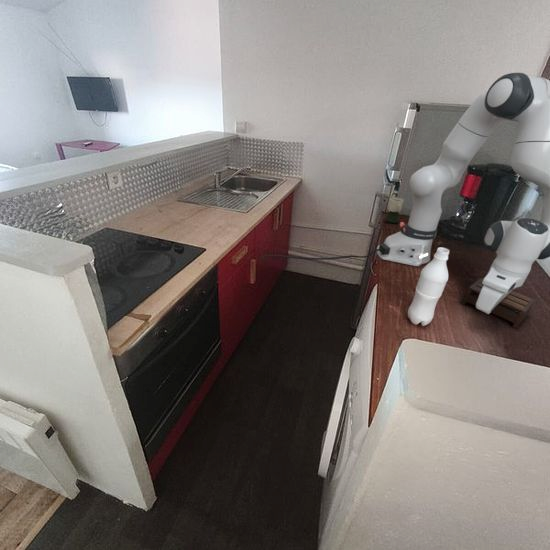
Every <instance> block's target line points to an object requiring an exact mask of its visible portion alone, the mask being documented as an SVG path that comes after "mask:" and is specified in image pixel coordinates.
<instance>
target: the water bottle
mask: <svg viewBox="0 0 550 550" xmlns="http://www.w3.org/2000/svg"><path fill="white" fill-rule="evenodd" d="M449 255H450V249H449V248H446V247H441V246H440V247H437V249H436V252H434V254H433V258H432V260H430V261H429V262H428V263H426V265H425V266H424V267H423V268H422V269H421V270H420V275H419V277H418V280H417V283H416V286H415V293H414V296H413V299H412V302H411V304H410V306H409V307H408V309H407V318H408V319H409V320H410V322H411V323H412V324H413V325H415V326H416V325H419V324H421V326H422V327H425V326H427V325H429V324H430V323H431V322H432V320H433V318H434V316H435V309H436V306H437V303H438V301H439V300H440V298H441V296H442V295H443V292H444V290H445V288H446V284H447V282H448V281H449V270H448V266H447V261H448V260H449Z"/></svg>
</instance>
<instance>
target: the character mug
mask: <svg viewBox="0 0 550 550" xmlns="http://www.w3.org/2000/svg"><path fill="white" fill-rule="evenodd" d="M404 201H405V200H404V198H402V197H394V196H393V197H390V198H389V202H388V205H387V210H388V213H387V216H386V219H385V221H386V222H388V223H391V224H393V223H395V224H396V223H398V221H399V213H400V212H401V211H402V209H403V205H404Z"/></svg>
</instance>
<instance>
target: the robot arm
mask: <svg viewBox="0 0 550 550" xmlns="http://www.w3.org/2000/svg"><path fill="white" fill-rule="evenodd" d="M507 120H508V121H511V122H517V123H518V126H519V129H518V134H517V137H516V140H515V143H514V145H513V149H512V152H511V155H510V156H511V157H510V166H511V169H512V170H513V171H514V173H515V174H517V176H519V177H521V178H522V179H524V180H526V181H528V182H530V183H532V184H534V185H535V186H537V187H538V188H540V189H541V190H542V193H543V203H542V207H541V215H540V220H537V219H534V218H530V217H523V218H522V217H520V218H518V219H516V220H513V221H512V220H497V221H495V222H493V223H492V224H491V225H490V226H488V228H487V230H486V231H485V233H484V236H483V244H484V245H485V247H486V248H487V249H488V250H489V251H491V253H495V254H496V257H495V258H494V260H493V261H492V263H491V266H490V267H489V269H488V270H487V274H485V276H484V278H483V282H482V284H484V286H483V287H482V289H481V292H480V294H479V297H478V300H477V302H476V306H475V309H476V310H479V311H481V312H483V313H485V314H487V315H489V314H492V313H491V312H492V311H493V309H494V307H495V306H496V305H497V304H499V303H500V302H501V301H502V300H503V299H504V298H505V297H506V296H507V295H508V294H509V293H510V292H511V291H514V290H515V289H517V288H520V287H522V286H523V285H524V284H525V282H526V280H527V278H528V276H529V274H530V272H531V270H532V266H533V264H534V263H535V261H536V260H541V261H543V260H545V259H548V258H550V80H549V79H548V78H546V77H543V76H541V75H540V76H539V75H531V74H526V73H524V72H510V73H506V74H504V75H502V76H500V77H498V78H497V79H496V80H495V81H494V82H493V83H492V84H491V85H490V87H488V89H487V91H484V92H482V93H481V94H480V95H479V96H478V97H477V98H476V99H475V100H474V101H473V102H472V103H471V104H470V105H469V106H468V108H467V109H466V110H465V112H464V113H463V114H462V115H461V117H460V118H459V120H458V121H457V122H456V124H455V125H454V127H453V128H452V130H451V131H450V133H449V134H448V136H447V137H446V139H445V140H444V141H443V144H442V149H441V152H440V155H439V157H438V159H437V160H436V161H435V163H433V164H430V165H425V166H422V167H421V168H419V169H418V170H417V171H415V172H414V173H413V174H412V175H411V176H410V179H409V182H408V183H409V184H408V185H409V189H410V191H411V193H412V204H411V205H412V206H411V209H410V210H411V212H410V214H409V217H408V222H407V223H405V222H404V221H400V222H399V227H400V231H397V232H395V233H392V234H391V235H388V236H387V237H386V238H385V240H384V241H383V243H379V245H377V247H376V249H374V250H372V251H370V252H369V254H367V255H354V254H353V255H351V254H349V255H342V256H341V255H340V256H335V257H334V256H333V257H306V256H304V257H303V256H295V255H285V254H284V255H283V254H264V255H261V256H260V257H259V259H258V260H259V261H261V260H263V259H264V258H287V259H297V260H298V259H300V260H310V261H311V260H312V261H314V260H315V261H319V260H320V261H327V260H328V261H329V260H339V259H346V258H347V259H348V258H359V259H361V258H362V259H363V258H369V257H371V256H372V255H373V254H374V253H376V254H377V256H378V257H379V258H380V259H381V260H384V261H388V262H392V263H393V262H394V263H398V264H404V265H407V266H408V265H409V266H413V267H420V266H421V265H423V264H429V263H430V262H431V253H432V252H431V251H432V245H433V242H434V240H435V238H436V236H437V233H438V225H439V222H440V219H441V217H442V213H443V208H442V205H441V204H442V196H443V194H444V193H445V192H448V191H450V190H452V189H454V188H455V187H456V186H457V185H458V184H459V183H460V182H461V180H462V178H463V174H464V173H465V172H466V170H467V168H468V166H469V165H470V163H471V161H472V159H474V157H475V155H476V154H477V153H478V151H479V150H480V149H481V148H482V146H483V145H484V144H485V142H487V140H488V139H489V137H490V136H491V135H492V134H493V133H494V131H495V130H496V129H497V127H498V126H500V125H501V123H503V122H505V121H507Z"/></svg>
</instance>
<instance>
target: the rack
mask: <svg viewBox="0 0 550 550" xmlns="http://www.w3.org/2000/svg"><path fill="white" fill-rule="evenodd" d="M483 279H484V278H482V277H481V278H479V279H478V280H476V281H475V282H474V283H473V284H471V285H470V286H469V287H468V288H467V290H466V294H465V295H464V298H463V300H462V301H461V304H463V305H466V304H467V303H469V304H471V305H474V306H475V307H476V302H477V300H478V297H479V294H480V292H481V289H482V287H483V286H484V284H482V282H483ZM536 301H537V299H534V298H532V297H529V296H526V295H524V294H521V293H519V292H516V291H514V290H512V291H511V292H510V293H509V294H508V295H507V296H506V297H505V298H504V299H503V300H502V301H501V302H500V303H499V304H497V305H496V306H495V307H494V309H493V311H492V312H491V313H490V314H493V315H495V316H497V317H499V318H501V319H503V320H506V321H508V322H510V323H512V326H511V327H512V328H514V329H517V327H518V326H519V325H520V324H521V323H522V322H523V321H524V319H525V318H526V317H527V316H528V314H529V313H530V310H531V309H532V307H533V306H534V305H535V302H536Z"/></svg>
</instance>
